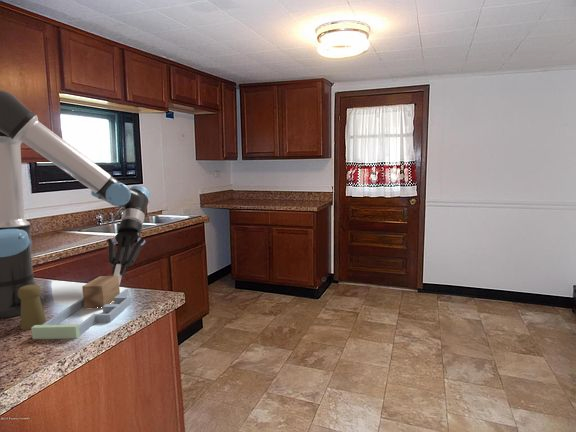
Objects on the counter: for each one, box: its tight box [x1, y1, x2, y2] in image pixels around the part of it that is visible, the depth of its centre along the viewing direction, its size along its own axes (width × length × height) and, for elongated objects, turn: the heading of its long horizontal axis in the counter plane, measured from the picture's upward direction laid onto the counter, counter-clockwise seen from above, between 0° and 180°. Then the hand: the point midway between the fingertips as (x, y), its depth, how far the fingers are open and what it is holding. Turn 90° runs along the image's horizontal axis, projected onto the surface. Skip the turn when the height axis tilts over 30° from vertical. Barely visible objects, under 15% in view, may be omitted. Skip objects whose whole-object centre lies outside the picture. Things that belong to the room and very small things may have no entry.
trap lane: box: [30, 288, 133, 340], centre depth 110 cm, size 15×30×3 cm, turn 179°
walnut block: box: [81, 275, 121, 309], centre depth 119 cm, size 6×10×7 cm, turn 177°
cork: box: [18, 284, 48, 331], centre depth 103 cm, size 6×6×11 cm
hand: (115, 283), depth 125 cm, fingers closed
